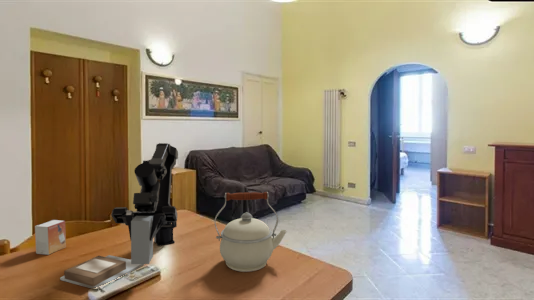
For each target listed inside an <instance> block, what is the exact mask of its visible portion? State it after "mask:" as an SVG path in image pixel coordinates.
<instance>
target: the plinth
mask: <svg viewBox="0 0 534 300" xmlns="http://www.w3.org/2000/svg"><path fill="white" fill-rule="evenodd" d="M143 266H145V264H131V258H124V257H120V256H116V255H115V256H114V255H112V254H111V255H110V254H109V255H106V256H102V255H96V256H94V257H92V258H90V259H87V260H85V261H83V262H81V263H79V264H77V265H74V266H72V267H70V268H68V269H65V270H64V275H63V276H61V277H59V279H60V281H63V282H67V283H70V284H73V285H78V286H81V287H85V288H89V289H92V288H96V287H99V286H101V285H104V284H106V283H108V282H110V281H112V280H115V279H117V278H118V277H121V276H123V275H125V274H126V273H129V272H131V271H133V272H134V271H136V270H138V269H140V268H141V267H143ZM131 273H132V272H131ZM129 274H130V273H129ZM125 276H126V275H125ZM92 290H93V289H92Z"/></svg>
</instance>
